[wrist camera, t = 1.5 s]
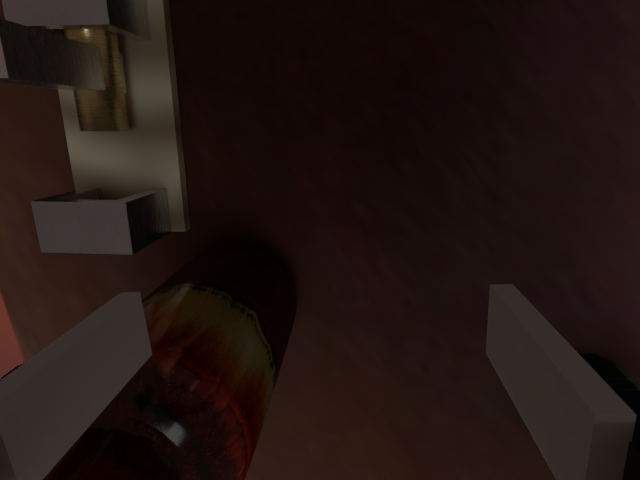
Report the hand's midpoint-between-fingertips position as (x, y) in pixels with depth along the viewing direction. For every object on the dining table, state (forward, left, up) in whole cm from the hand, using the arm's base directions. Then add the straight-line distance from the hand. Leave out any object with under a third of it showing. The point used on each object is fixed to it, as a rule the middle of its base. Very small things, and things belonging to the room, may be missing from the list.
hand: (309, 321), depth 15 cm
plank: (-7, -19, -22) cm, 30 cm away
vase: (+9, -9, -23) cm, 26 cm away
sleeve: (-16, -19, -21) cm, 32 cm away
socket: (+1, -19, -21) cm, 28 cm away
